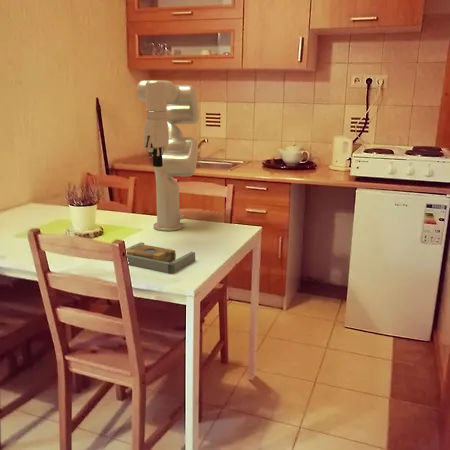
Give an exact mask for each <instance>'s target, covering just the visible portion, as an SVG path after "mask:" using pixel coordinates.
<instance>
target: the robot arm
mask: <svg viewBox="0 0 450 450" xmlns="http://www.w3.org/2000/svg"><path fill="white" fill-rule="evenodd" d="M136 95H137V98H138V99H139V100H140V101H141V102H144V103H145V119H146V120H145V121H144V127H143V146H144V148H146V149H147V150H146V151H147V152H149V153H151V156H152V166H153V171H154V175H155V188H156V189H155V193H156V223H154V224H153V229H155V230H157V231H162V232H163V231H164V232H174V231H178V230H181V229H183V228H184V224H183V222H181V220H183V219H184V218H185V215H184V214H180V186H179V184H178V182H177V180H176V179H175V178H174V177H185V178H186V177H192V176H193V175H194V174H195V172H196V170H197V162H198V155H199V145H198V141H197V140H196V138H194V137H189V136H188V137H185V136H184V134H183V132H182V130H181V128H179V127H178V126H177V125H195V124H197V123H198V121H199V118H200V111H199V106H198V105H199V104H198V103H199V102H198V97H197V92H196V90H195V88H194V86H192V85H191V84H174V83H173V82H172V81H170V80H164V79H163V80H159V79H158V80H155V79H153V80H151V79H148V80H147V79H145V80H143V79H142V80H140V81H139V82H138V83H137V86H136Z"/></svg>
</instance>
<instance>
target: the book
mask: <svg viewBox="0 0 450 450" xmlns="http://www.w3.org/2000/svg"><path fill="white" fill-rule="evenodd" d="M126 251H127V254H129V255H134V256H139V257H144V258H149V259H154V260H159V261H164V262H169V263H171V262H173V261H175V260H176V259H177V258H176V257H177V253H176V250H175V249H171V248H164V247H159V246H154V245H149V244H145V243H144V244H141V245H139V246H136V247H134V248H133V249H127V250H126Z"/></svg>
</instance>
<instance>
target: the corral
mask: <svg viewBox="0 0 450 450" xmlns="http://www.w3.org/2000/svg"><path fill="white" fill-rule="evenodd" d="M141 244H144V245H145V242H141V241H140V242H138V243H136V244H134V245H132V246H129V247H126V248H125V249H126V250H127V249H133V248H134V247H136V246H139V245H141ZM127 258H128V262H129V266H133V267H138V268H143V269H147V270H153V271H157V272H162V273H167V274H171V275H172V274H174V273H177V271H179V270H181V269H183V268H184V267H187V266H188V265H189V264H192V263H193V262H195V261H196V251H190V252H188V253H186V254H184V255H182V256H180V257H178V258H176V259H175V260H174V261H172V262H171V263H169V262H164V261H159V260H154V259H149V258H144V257H139V256H134V255H129V254H127Z"/></svg>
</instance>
